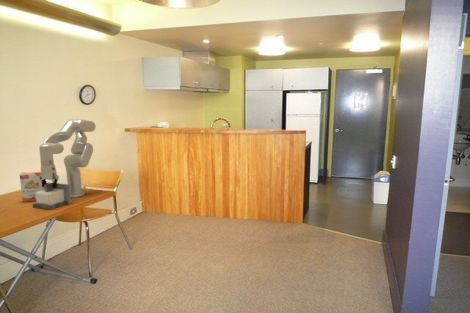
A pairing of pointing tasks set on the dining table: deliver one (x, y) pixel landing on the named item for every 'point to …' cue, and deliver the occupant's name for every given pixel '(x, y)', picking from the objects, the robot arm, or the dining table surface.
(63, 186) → the grey piece
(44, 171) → the robot arm
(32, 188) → the cracker box
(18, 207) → the dining table surface
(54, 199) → the white rectangular box
